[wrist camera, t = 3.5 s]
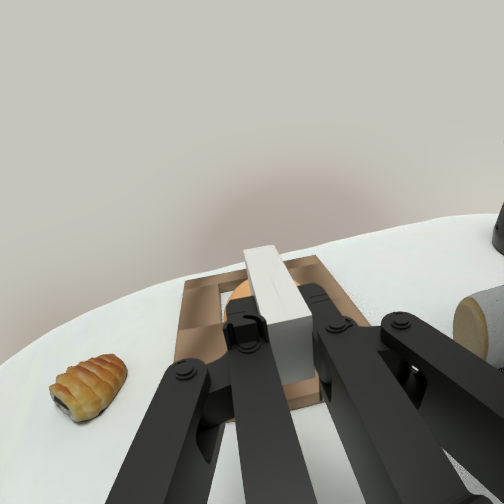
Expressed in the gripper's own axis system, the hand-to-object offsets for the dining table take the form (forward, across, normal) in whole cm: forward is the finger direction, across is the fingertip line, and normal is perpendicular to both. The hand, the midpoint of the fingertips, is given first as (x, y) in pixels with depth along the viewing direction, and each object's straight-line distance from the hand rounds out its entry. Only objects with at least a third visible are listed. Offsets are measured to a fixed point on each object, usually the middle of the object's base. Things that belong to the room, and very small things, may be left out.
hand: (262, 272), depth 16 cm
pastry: (+8, -19, -15) cm, 25 cm away
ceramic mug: (-1, +20, -14) cm, 25 cm away
